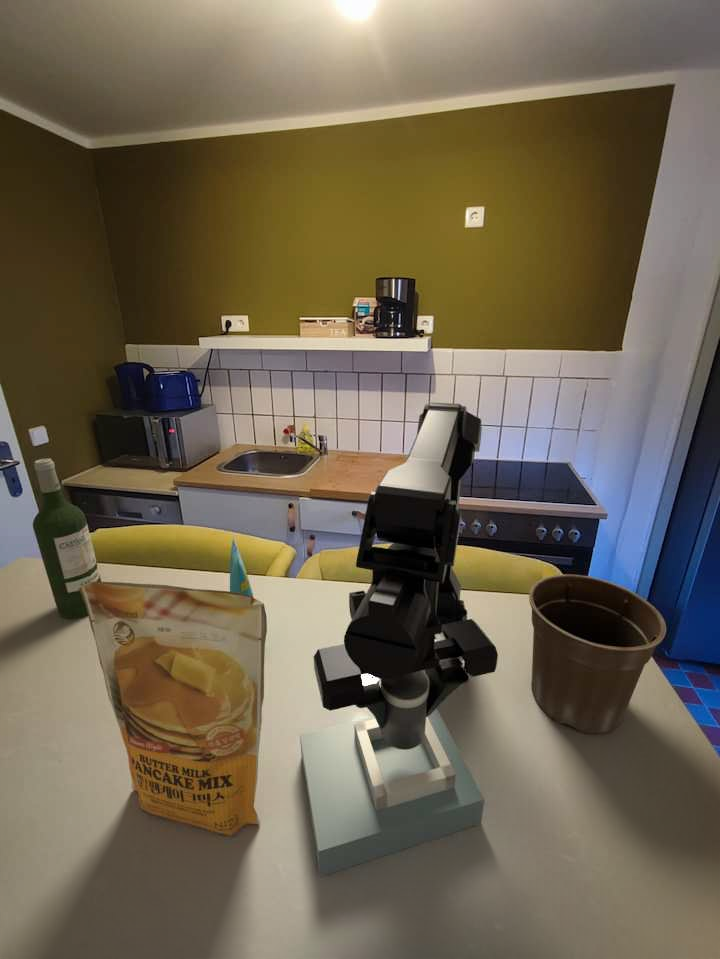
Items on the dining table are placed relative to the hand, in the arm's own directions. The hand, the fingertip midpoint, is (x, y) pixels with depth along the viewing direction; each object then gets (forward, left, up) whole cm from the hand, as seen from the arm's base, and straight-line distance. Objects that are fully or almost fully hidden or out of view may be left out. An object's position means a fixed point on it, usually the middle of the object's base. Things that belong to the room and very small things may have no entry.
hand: (403, 719), depth 48 cm
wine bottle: (+48, -49, -11) cm, 69 cm away
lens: (0, 0, -2) cm, 2 cm away
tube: (+17, -29, -11) cm, 35 cm away
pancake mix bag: (+23, -5, -11) cm, 26 cm away
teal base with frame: (+2, 0, -10) cm, 11 cm away
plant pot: (-29, -5, -11) cm, 31 cm away
